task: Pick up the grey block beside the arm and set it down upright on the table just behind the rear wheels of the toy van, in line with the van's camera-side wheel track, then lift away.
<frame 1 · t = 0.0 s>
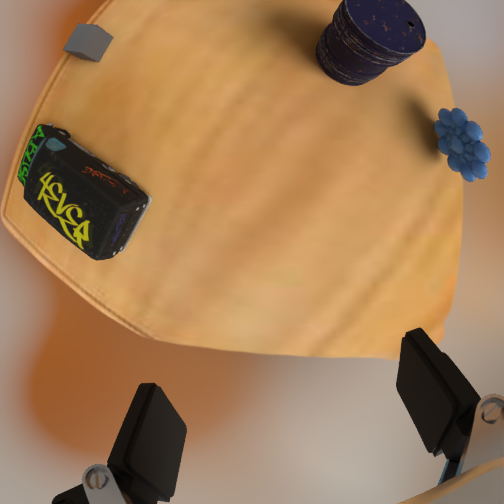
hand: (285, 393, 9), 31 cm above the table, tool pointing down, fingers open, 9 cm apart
toy van: (87, 182, 37), on the table
grey block: (97, 48, 29), on the table
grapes: (442, 143, 34), on the table
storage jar: (346, 58, 31), on the table
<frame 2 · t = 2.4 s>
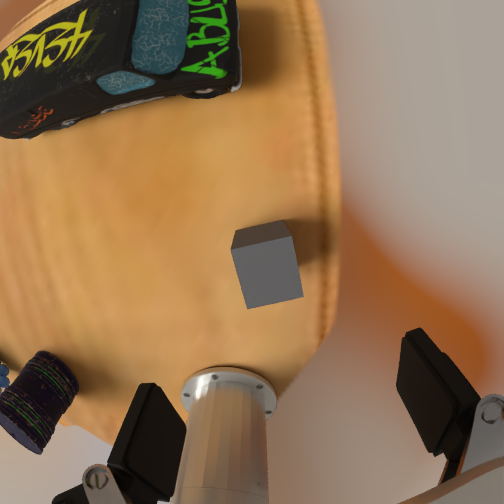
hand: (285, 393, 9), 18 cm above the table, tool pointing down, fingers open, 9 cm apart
toy van: (121, 70, 20), on the table
grey block: (265, 250, 26), on the table
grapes: (0, 360, 34), on the table
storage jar: (56, 372, 33), on the table
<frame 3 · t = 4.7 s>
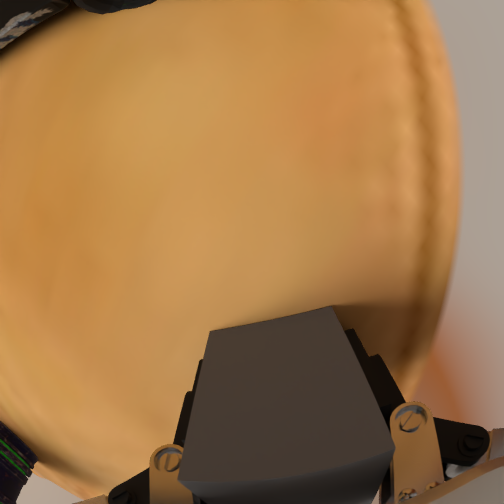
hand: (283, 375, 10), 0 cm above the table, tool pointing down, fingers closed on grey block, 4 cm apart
toy van: (17, 6, 5), on the table
grey block: (282, 369, 10), on the table, touching gripper
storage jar: (11, 437, 17), on the table
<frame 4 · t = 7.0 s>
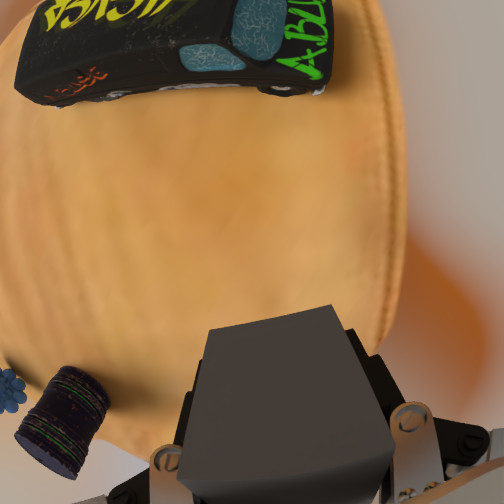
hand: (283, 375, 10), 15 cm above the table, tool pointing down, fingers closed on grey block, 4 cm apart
toy van: (181, 47, 19), on the table
grey block: (282, 367, 10), point 15 cm above the table, touching gripper
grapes: (14, 373, 33), on the table
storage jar: (84, 388, 32), on the table
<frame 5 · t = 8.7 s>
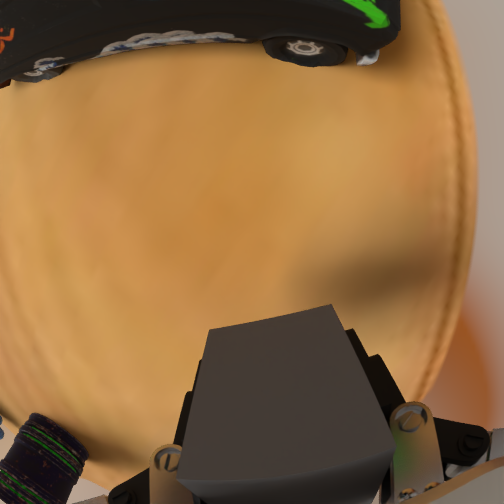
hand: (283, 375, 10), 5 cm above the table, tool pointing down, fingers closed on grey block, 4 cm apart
grey block: (282, 367, 10), point 5 cm above the table, touching gripper
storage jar: (58, 436, 22), on the table
when the fingers open (2 cm above the table, at t = 9.8 s): grey block drops 1 cm, on the table.
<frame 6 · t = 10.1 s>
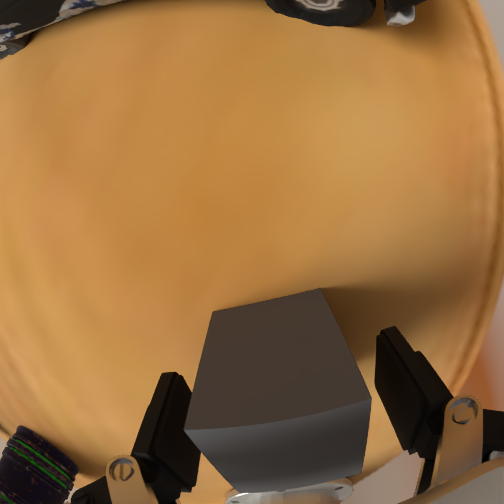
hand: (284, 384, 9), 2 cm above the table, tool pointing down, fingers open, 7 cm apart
grey block: (277, 347, 12), on the table
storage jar: (47, 449, 19), on the table
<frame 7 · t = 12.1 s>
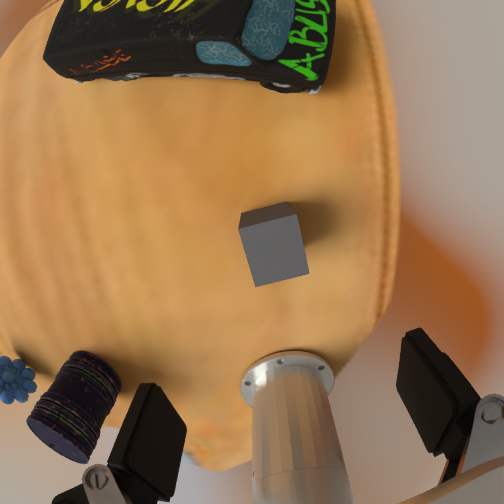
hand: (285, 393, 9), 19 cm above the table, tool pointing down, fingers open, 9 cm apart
toy van: (197, 40, 20), on the table
grey block: (270, 231, 27), on the table
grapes: (24, 363, 35), on the table
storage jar: (95, 373, 34), on the table
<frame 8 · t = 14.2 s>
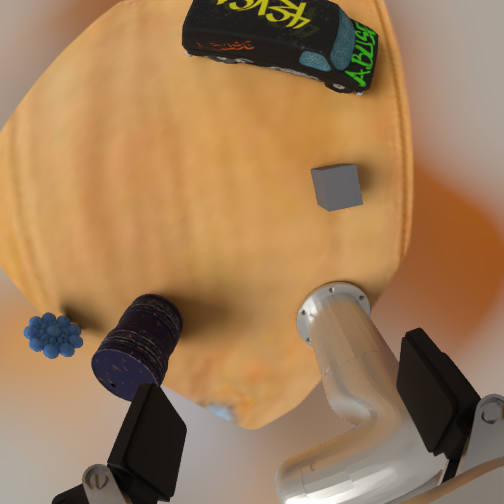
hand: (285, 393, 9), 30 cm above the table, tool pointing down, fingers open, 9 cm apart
toy van: (281, 45, 30), on the table
grey block: (329, 183, 36), on the table
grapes: (68, 321, 44), on the table
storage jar: (155, 318, 43), on the table
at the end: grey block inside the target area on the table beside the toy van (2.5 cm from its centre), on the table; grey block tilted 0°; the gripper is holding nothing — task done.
